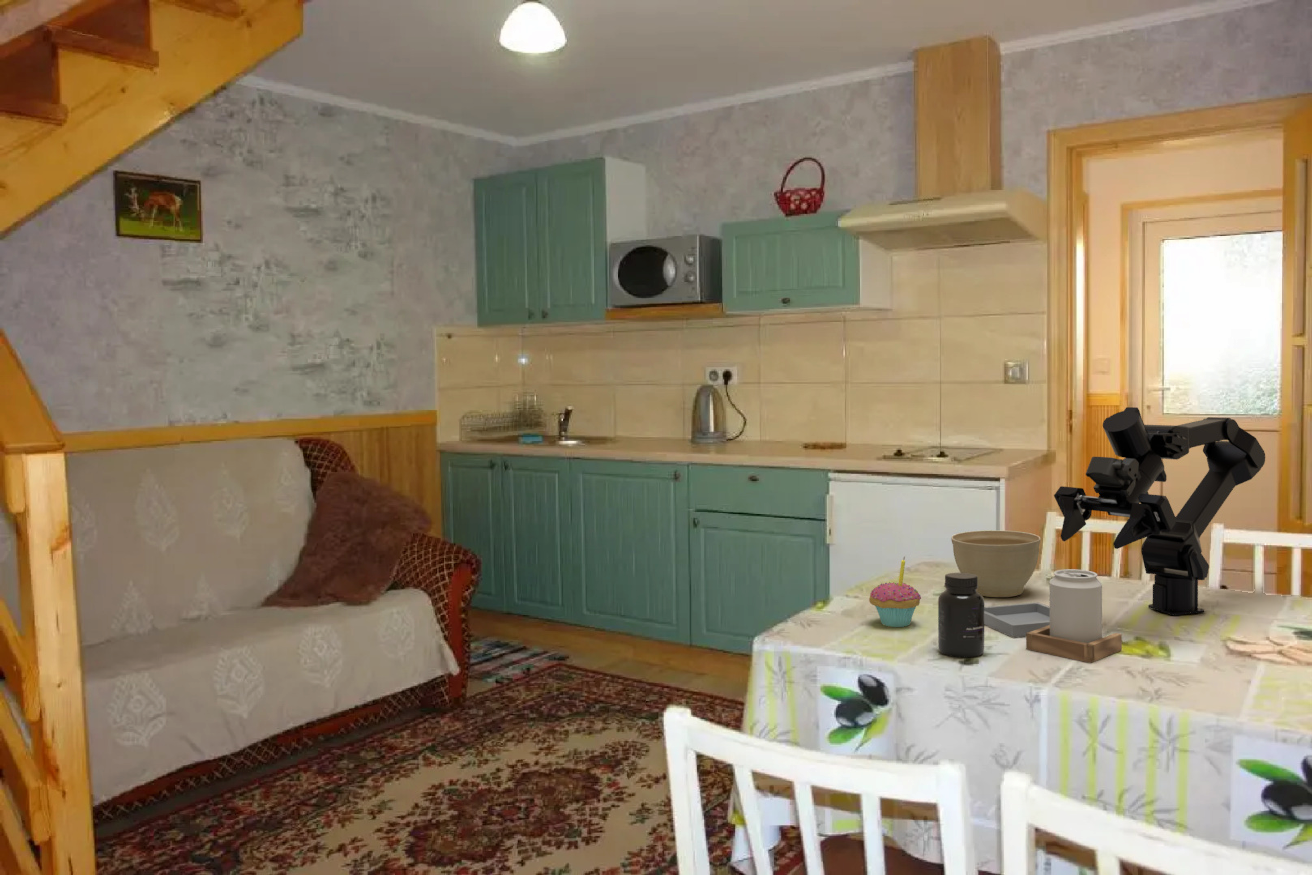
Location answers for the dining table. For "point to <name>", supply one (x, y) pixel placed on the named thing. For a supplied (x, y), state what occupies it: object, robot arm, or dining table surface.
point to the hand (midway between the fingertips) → (1088, 542)
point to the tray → (1017, 618)
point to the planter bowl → (997, 559)
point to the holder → (1073, 645)
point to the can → (1076, 605)
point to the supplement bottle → (961, 617)
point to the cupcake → (895, 601)
